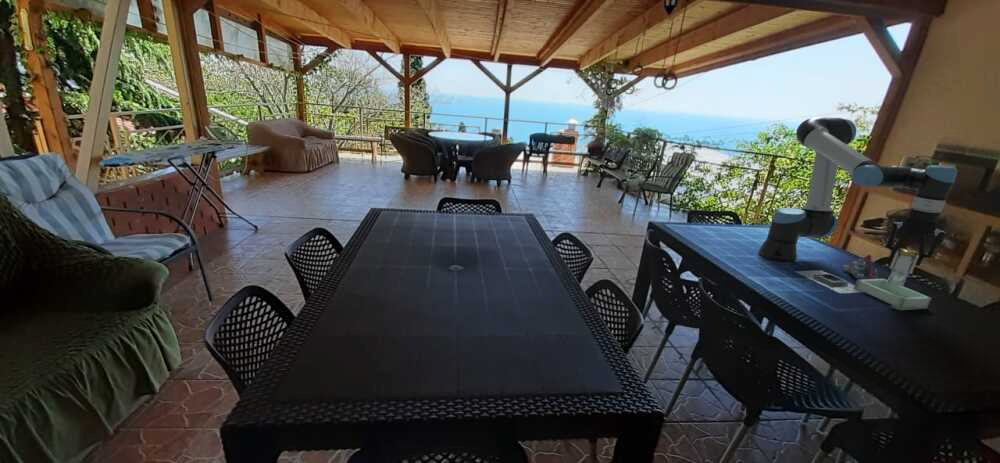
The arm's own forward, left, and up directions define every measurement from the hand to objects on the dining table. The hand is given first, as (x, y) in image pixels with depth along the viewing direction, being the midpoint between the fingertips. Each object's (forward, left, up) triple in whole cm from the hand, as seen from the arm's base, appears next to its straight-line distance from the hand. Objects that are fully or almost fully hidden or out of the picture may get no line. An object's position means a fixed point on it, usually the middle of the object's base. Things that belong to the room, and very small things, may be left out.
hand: (900, 270), depth 144 cm
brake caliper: (-17, +8, -12) cm, 23 cm away
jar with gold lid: (0, 0, -5) cm, 5 cm away
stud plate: (-14, -11, -12) cm, 22 cm away
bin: (0, 0, -12) cm, 12 cm away
